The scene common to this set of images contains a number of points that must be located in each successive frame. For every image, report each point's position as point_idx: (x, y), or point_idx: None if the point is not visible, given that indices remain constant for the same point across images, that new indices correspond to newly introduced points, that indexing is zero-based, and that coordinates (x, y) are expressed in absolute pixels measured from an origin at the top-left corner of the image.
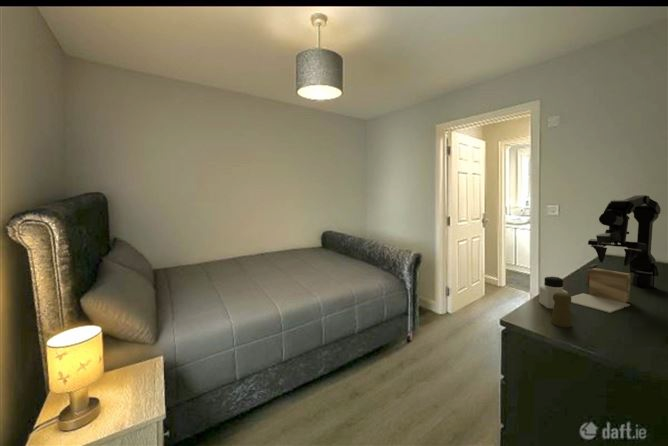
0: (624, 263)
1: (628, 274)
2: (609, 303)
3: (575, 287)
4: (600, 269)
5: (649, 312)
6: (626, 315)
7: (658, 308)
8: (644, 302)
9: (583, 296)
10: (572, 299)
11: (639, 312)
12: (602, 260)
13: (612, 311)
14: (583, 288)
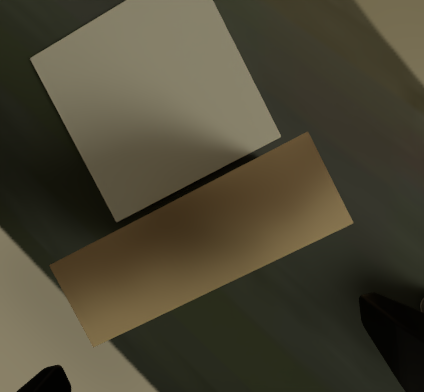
0: (33, 389)
1: (76, 313)
2: (128, 143)
3: (401, 193)
4: (285, 230)
5: (43, 225)
6: (12, 107)
7: None
8: None
9: (230, 101)
10: (189, 12)
11: (43, 187)
12: (383, 343)
13: (41, 79)
14: (378, 221)
